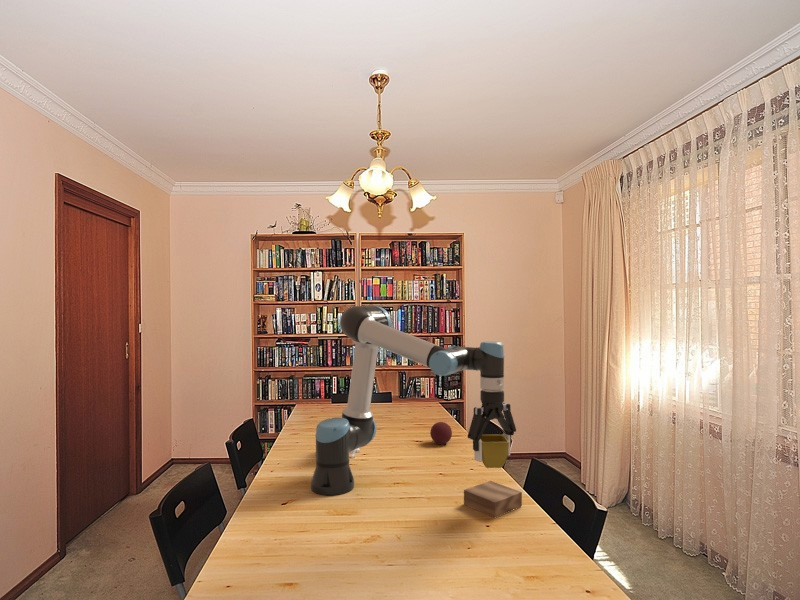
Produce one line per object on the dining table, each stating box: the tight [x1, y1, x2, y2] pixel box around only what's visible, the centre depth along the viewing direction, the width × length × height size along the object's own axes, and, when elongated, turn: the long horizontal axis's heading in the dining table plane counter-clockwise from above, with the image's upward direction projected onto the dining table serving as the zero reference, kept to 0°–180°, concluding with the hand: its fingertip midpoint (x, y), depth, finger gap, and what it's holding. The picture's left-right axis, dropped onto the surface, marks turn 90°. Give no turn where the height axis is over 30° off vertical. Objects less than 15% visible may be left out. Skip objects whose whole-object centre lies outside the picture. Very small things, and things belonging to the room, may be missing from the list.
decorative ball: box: [429, 421, 453, 445], centre depth 230 cm, size 10×10×10 cm
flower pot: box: [480, 434, 509, 469], centre depth 160 cm, size 9×9×9 cm
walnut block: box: [463, 480, 523, 518], centre depth 160 cm, size 13×13×5 cm
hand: (492, 457), depth 160 cm, fingers closed on flower pot, 11 cm apart
